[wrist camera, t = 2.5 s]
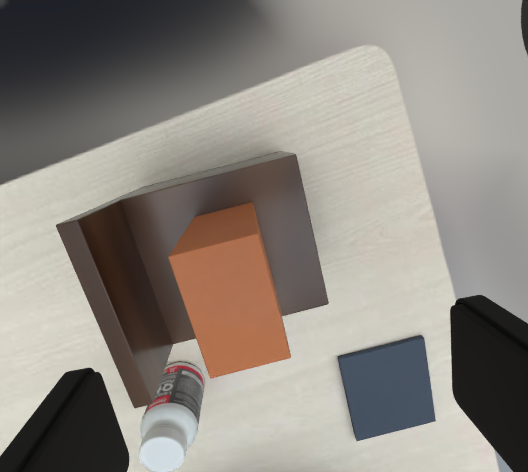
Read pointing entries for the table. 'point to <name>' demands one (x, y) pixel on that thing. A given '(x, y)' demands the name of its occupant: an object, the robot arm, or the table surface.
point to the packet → (229, 291)
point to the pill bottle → (172, 418)
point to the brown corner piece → (163, 242)
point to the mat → (388, 387)
